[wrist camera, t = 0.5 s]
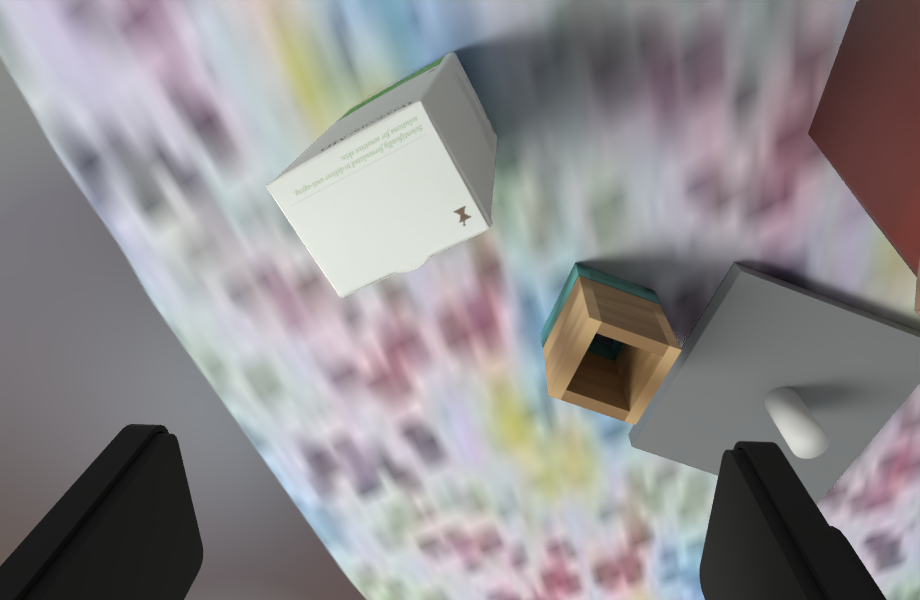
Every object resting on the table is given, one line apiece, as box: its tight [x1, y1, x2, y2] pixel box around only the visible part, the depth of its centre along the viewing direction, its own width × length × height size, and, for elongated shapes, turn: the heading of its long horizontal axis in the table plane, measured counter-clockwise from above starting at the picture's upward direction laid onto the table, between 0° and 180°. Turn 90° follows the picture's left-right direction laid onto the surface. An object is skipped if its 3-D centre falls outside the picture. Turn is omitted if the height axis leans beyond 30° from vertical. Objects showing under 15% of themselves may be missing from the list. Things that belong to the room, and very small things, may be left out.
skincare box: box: [266, 52, 498, 298], centre depth 34 cm, size 8×7×16 cm
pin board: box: [629, 262, 920, 505], centre depth 45 cm, size 16×16×6 cm
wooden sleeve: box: [541, 263, 682, 425], centre depth 43 cm, size 6×6×8 cm
